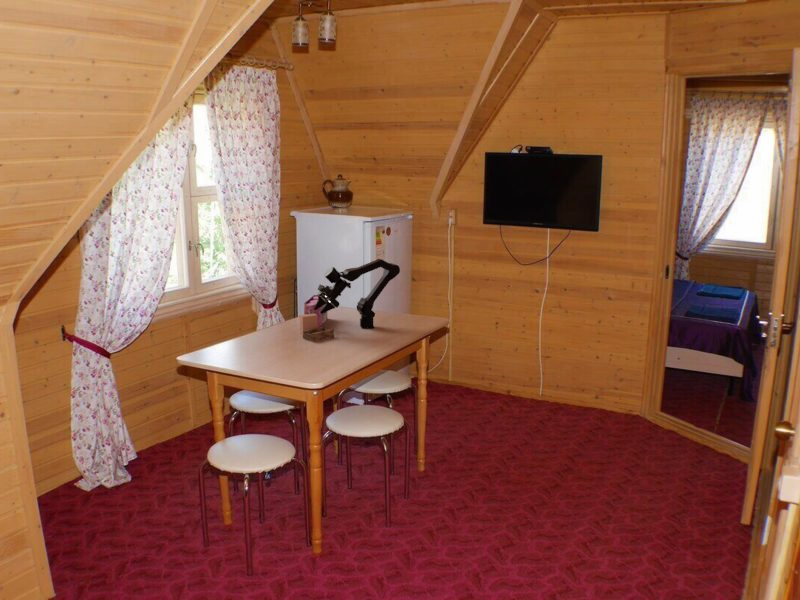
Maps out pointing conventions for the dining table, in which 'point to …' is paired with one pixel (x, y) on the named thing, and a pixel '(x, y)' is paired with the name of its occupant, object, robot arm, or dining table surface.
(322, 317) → the gum box
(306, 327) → the terracotta block
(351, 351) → the dining table surface
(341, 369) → the dining table surface
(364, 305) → the robot arm
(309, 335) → the walnut rack
